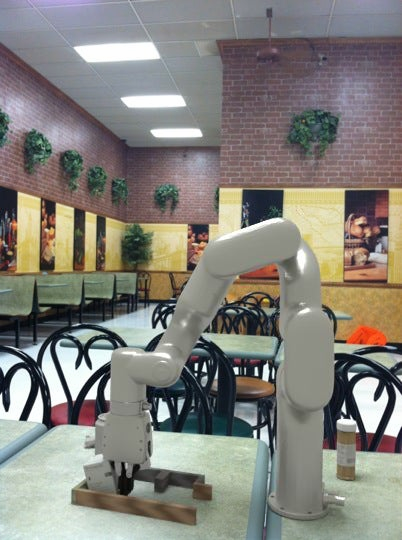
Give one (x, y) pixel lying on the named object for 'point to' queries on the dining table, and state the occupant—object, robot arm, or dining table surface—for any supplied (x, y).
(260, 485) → the dining table surface
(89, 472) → the skincare box
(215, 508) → the dining table surface
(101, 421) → the can
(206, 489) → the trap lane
